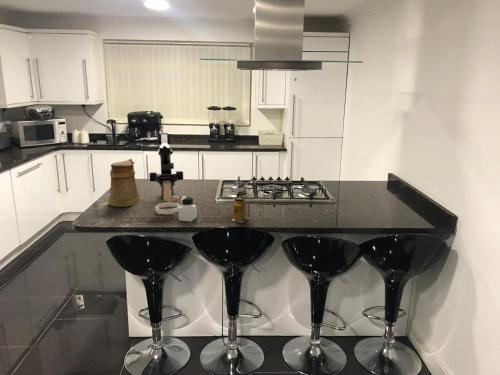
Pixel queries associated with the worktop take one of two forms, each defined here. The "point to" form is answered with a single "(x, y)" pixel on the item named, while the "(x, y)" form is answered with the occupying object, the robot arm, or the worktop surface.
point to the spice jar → (167, 190)
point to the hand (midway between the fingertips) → (167, 189)
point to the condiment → (240, 210)
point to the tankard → (123, 184)
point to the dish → (164, 211)
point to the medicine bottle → (187, 210)
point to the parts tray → (176, 200)
